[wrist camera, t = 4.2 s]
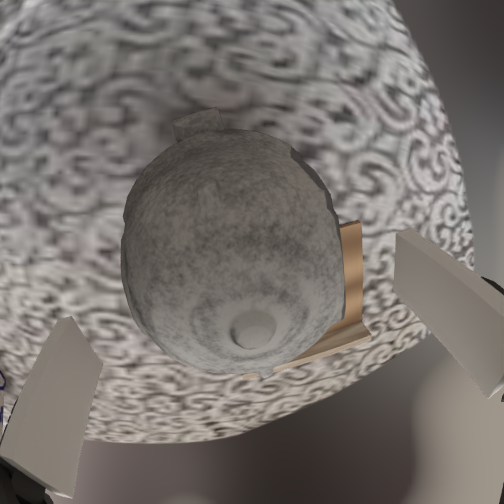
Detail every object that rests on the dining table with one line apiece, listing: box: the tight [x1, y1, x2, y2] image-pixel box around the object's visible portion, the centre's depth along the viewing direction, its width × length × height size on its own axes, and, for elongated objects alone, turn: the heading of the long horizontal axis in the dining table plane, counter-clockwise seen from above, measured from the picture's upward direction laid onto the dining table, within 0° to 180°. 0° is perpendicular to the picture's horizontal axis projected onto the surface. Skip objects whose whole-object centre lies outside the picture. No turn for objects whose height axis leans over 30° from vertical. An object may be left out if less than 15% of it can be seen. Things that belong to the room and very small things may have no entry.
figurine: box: [121, 107, 346, 378], centre depth 19 cm, size 10×14×25 cm
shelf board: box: [242, 221, 371, 380], centre depth 37 cm, size 18×20×4 cm
